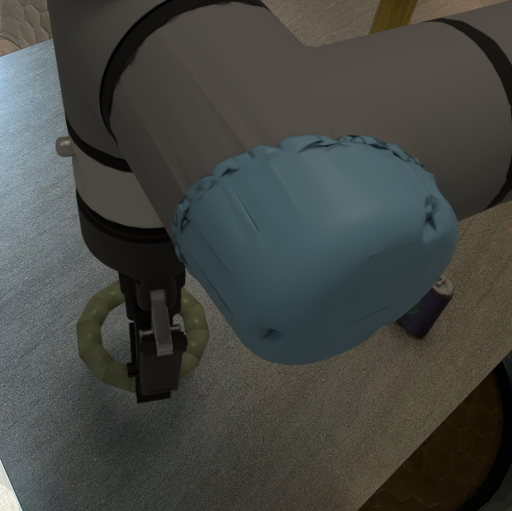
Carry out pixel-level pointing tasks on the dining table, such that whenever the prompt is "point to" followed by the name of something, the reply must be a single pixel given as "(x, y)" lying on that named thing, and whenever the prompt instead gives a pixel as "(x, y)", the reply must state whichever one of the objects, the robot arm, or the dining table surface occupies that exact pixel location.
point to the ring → (117, 371)
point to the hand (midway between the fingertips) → (150, 380)
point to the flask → (427, 309)
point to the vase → (392, 14)
